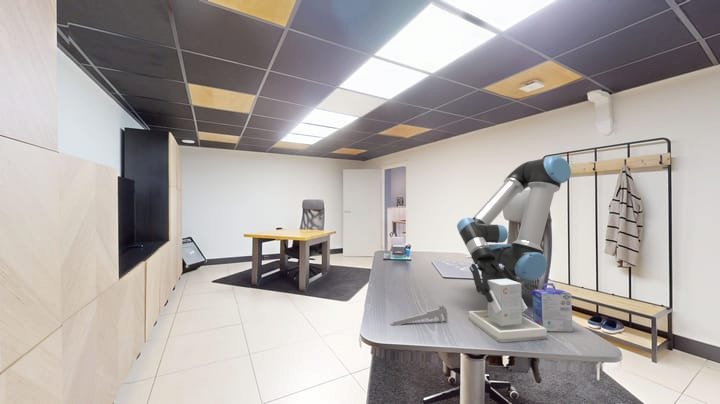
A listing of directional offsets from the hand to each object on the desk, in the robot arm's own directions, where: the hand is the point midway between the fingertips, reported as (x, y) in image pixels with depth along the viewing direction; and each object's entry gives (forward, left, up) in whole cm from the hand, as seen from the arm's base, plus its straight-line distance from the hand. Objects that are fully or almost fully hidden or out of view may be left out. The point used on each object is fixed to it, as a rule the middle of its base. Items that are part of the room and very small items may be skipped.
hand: (511, 310), depth 82 cm
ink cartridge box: (-16, -1, -7) cm, 18 cm away
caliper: (+27, -11, -8) cm, 30 cm away
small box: (0, -3, -5) cm, 6 cm away
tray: (0, -3, -7) cm, 8 cm away
